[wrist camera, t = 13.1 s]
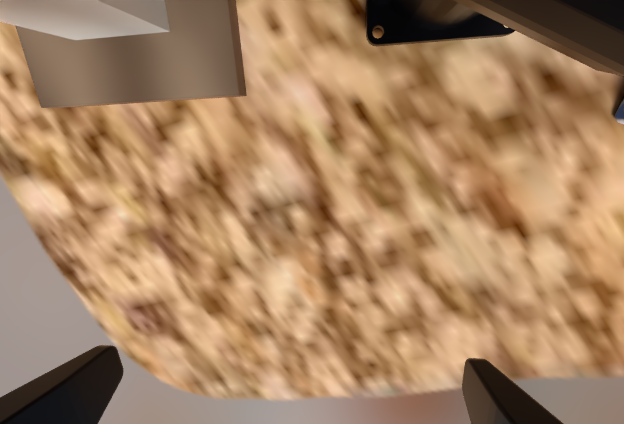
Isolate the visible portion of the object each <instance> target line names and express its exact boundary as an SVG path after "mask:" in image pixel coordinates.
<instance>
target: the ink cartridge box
mask: <svg viewBox="0 0 624 424" xmlns="http://www.w3.org/2000/svg"><path fill="white" fill-rule="evenodd" d="M615 119H616V121H617V122H619V123H621V124H624V100H623V101H622V103H621V105H620V106H619V108H618V110H617V112H616V114H615Z"/></svg>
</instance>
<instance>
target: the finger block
mask: <svg viewBox="0 0 624 424" xmlns="http://www.w3.org/2000/svg"><path fill="white" fill-rule="evenodd" d="M0 22H4V23H8V24H12V25H16V26H20V27H24V28H28V29H32V30H36V31H40V32H44V33H48V34H52V35H56V36H60V37H64V38H68V39H72V40H84V39H95V38H106V37H117V36H128V35H139V34H150V33H161V32H170V29H169V23H168V17H167V12H166V6H165V0H0Z"/></svg>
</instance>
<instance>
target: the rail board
mask: <svg viewBox="0 0 624 424" xmlns="http://www.w3.org/2000/svg"><path fill="white" fill-rule="evenodd" d="M165 6H166V12H167V17H168V23H169V29H170V32H161V33H150V34H139V35H128V36H117V37H106V38H95V39H84V40H72V39H68V38H64V37H60V36H56V35H52V34H48V33H44V32H40V31H36V30H32V29H28V28H24V27H20V26H16V25H15V26H16V29H17V32H18V35H19V39H20V42H21V45H22V48H23V51H24V54H25V58H26V61H27V64H28V67H29V70H30V73H31V77H32V80H33V83H34V86H35V89H36V92H37V95H38V99H39V102H40V105H41V108H63V107H79V106H95V105H110V104H126V103H142V102H158V101H174V100H189V99H205V98H221V97H237V96H246V88H245V80H244V71H243V62H242V53H241V45H240V36H239V27H238V18H237V9H236V1H235V0H165Z"/></svg>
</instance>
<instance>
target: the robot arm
mask: <svg viewBox="0 0 624 424" xmlns="http://www.w3.org/2000/svg"><path fill="white" fill-rule="evenodd" d="M503 25H505V26H507V27H509V28H505V27H504V26H503ZM375 28H380V29H381V30H382V32H383V36H382V37H381V38H379V39H377V38H375V37H374V36H373V34H372V31H373V30H374V29H375ZM514 31H517V32H520V33H522V34H524V35H526V36H528V37H530V38H532V39H534V40H536V41H538V42H540V43H542V44H544V45H546V46H548V47H550V48H552V49H554V50H556V51H559V52H561V53H563V54H565V55H567V56H569V57H571V58H573V59H575V60H577V61H579V62H581V63H583V64H585V65H587V66H589V67H591V68H593V69H595V70H598V71H603V72H607V73H612V74H616V75H621V76H624V0H366V37H367V40H368V42H369V43H370V44H371V45H373V46H388V45H400V44H413V43H426V42H438V41H451V40H464V39H477V38H489V37H502V36H506V35H509V34H511V33H513V32H514ZM122 376H123V366H122V363H121V360H120V357H119V354H118V350H117V348H116V347H115V346H108V345H100V346H97V347H95V348H93V349H91V350H89V351H87V352H85V353H83V354H82V355H79V356H78V357H76V358H74V359H72V360H70V361H68V362H66V363H64V364H62V365H61V366H59V367H57V368H55V369H53V370H51V371H49V372H47V373H45V374H44V375H42V376H40V377H38V378H36V379H34V380H32V381H30V382H28V383H27V384H25V385H23V386H21V387H19V388H17V389H15V390H13V391H11V392H10V393H8V394H6V395H4V396H2V397H0V424H98V422H99V420H100V418H101V417H102V415H103V413H104V411H105V409H106V407H107V405H108V403H109V401H110V400H111V398H112V396H113V394H114V392H115V390H116V389H117V387H118V384H119V383H120V381H121V379H122ZM462 390H463V396H464V399H465V403H466V406H467V410H468V414H469V417H470V420H471V424H563V423H562V422H561V421H560V420H558V419H557V418H556V417H555V416H554V415H552V414H551V413H550V412H549V411H548V410H546V409H545V408H544V407H543V406H542V405H540V404H539V403H538V402H537V401H536V400H534V399H533V398H532V397H531V396H530V395H528V394H527V393H526V392H525V391H524V390H522V389H521V388H520V387H519V386H518V385H516V384H515V383H514V382H513V381H512V380H510V379H509V378H508V377H507V376H506V375H504V374H503V373H502V372H501V371H500V370H498V369H497V368H496V367H495V366H493V365H492V364H491V363H490V362H489V361H487V360H485V359H477V358H469V359H467V360H466V362H465V367H464V375H463V383H462Z"/></svg>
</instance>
